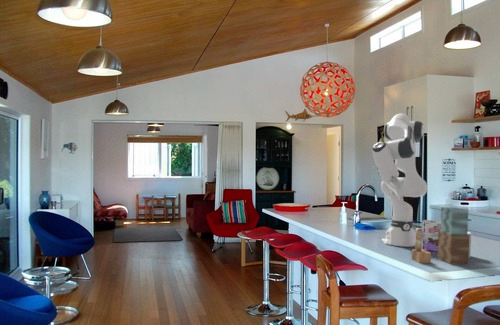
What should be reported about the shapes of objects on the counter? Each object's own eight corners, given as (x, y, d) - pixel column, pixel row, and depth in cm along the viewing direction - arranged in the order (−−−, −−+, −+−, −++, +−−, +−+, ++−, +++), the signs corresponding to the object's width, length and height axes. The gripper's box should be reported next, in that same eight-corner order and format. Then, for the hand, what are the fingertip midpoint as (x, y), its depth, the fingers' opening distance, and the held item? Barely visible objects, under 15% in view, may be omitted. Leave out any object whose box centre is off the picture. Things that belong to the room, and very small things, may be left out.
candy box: (422, 251, 262) (423, 220, 262) (420, 248, 268) (421, 219, 268) (449, 252, 260) (450, 222, 260) (446, 250, 266) (447, 220, 266)
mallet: (412, 227, 240) (424, 227, 240) (411, 259, 240) (423, 259, 241) (419, 229, 232) (431, 230, 232) (418, 262, 232) (430, 263, 233)
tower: (437, 258, 244) (439, 207, 243) (454, 258, 245) (456, 207, 244) (450, 264, 231) (452, 210, 231) (468, 264, 232) (470, 210, 231)
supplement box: (470, 258, 246) (471, 233, 246) (454, 256, 249) (455, 232, 249) (469, 255, 253) (470, 231, 253) (454, 254, 256) (455, 230, 256)
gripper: (403, 177, 227) (412, 202, 231) (387, 164, 246) (396, 187, 250) (391, 183, 227) (400, 207, 231) (376, 170, 246) (384, 192, 251)
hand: (397, 197), depth 241 cm, fingers open, 8 cm apart
